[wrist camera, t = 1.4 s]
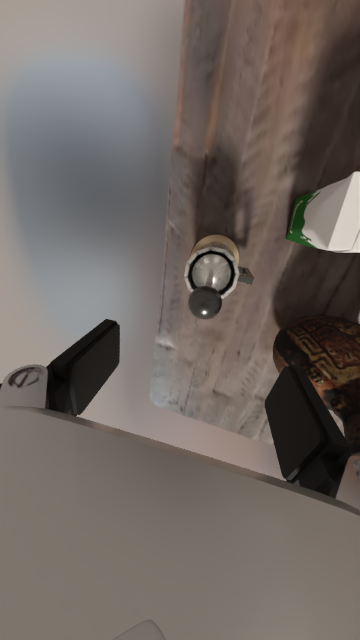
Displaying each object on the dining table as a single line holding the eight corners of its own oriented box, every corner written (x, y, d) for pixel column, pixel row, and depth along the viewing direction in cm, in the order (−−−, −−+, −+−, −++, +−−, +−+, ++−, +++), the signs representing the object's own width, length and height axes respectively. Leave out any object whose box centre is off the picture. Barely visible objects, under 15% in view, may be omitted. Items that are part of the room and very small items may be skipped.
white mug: (199, 237, 40) (190, 242, 28) (251, 247, 39) (265, 257, 26) (192, 275, 44) (180, 294, 32) (238, 285, 43) (246, 309, 30)
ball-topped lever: (196, 250, 29) (176, 269, 16) (235, 258, 29) (247, 284, 15) (189, 287, 32) (167, 329, 19) (224, 295, 32) (227, 343, 18)
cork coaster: (195, 230, 40) (195, 230, 40) (245, 239, 39) (246, 239, 39) (186, 279, 45) (186, 279, 45) (230, 288, 44) (230, 289, 44)
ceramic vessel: (376, 327, 42) (642, 497, 15) (318, 376, 50) (425, 539, 24) (294, 286, 41) (423, 389, 15) (249, 342, 50) (282, 471, 23)
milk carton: (327, 244, 37) (424, 259, 19) (278, 243, 38) (327, 257, 21) (345, 191, 33) (489, 149, 15) (290, 192, 34) (363, 156, 17)
